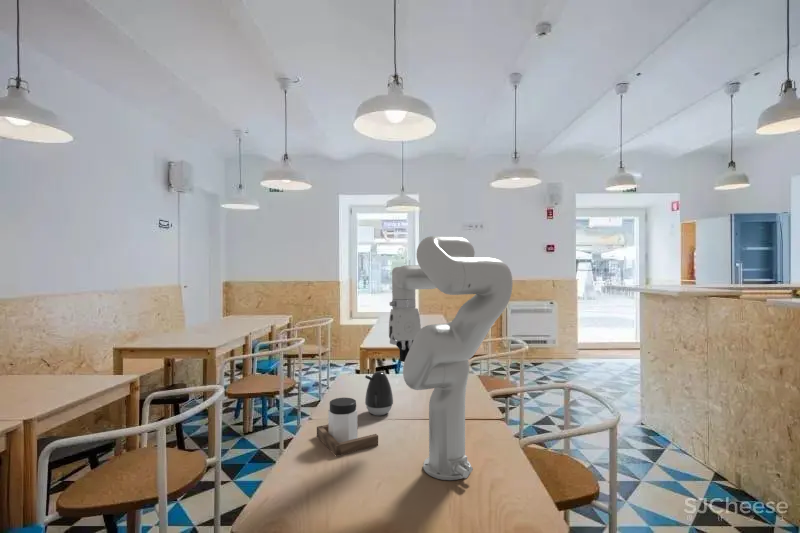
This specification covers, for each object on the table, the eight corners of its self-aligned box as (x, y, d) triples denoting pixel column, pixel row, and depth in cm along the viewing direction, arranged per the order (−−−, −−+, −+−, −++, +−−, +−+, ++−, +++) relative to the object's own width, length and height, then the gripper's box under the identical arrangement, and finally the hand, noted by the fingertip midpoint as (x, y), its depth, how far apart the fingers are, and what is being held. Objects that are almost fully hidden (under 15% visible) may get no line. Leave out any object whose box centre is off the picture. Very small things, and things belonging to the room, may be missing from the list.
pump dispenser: (360, 410, 154) (360, 369, 153) (386, 406, 158) (386, 366, 158) (370, 420, 144) (370, 376, 144) (397, 415, 149) (397, 373, 149)
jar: (361, 442, 126) (361, 403, 126) (336, 448, 122) (335, 408, 122) (349, 432, 134) (349, 395, 134) (325, 437, 130) (325, 399, 129)
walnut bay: (378, 445, 124) (378, 435, 124) (336, 456, 117) (336, 445, 117) (355, 427, 138) (355, 418, 138) (316, 436, 131) (316, 426, 131)
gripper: (390, 306, 127) (391, 366, 127) (429, 304, 135) (430, 360, 135) (378, 305, 134) (379, 362, 133) (416, 303, 142) (417, 356, 141)
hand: (404, 361), depth 134 cm, fingers closed
